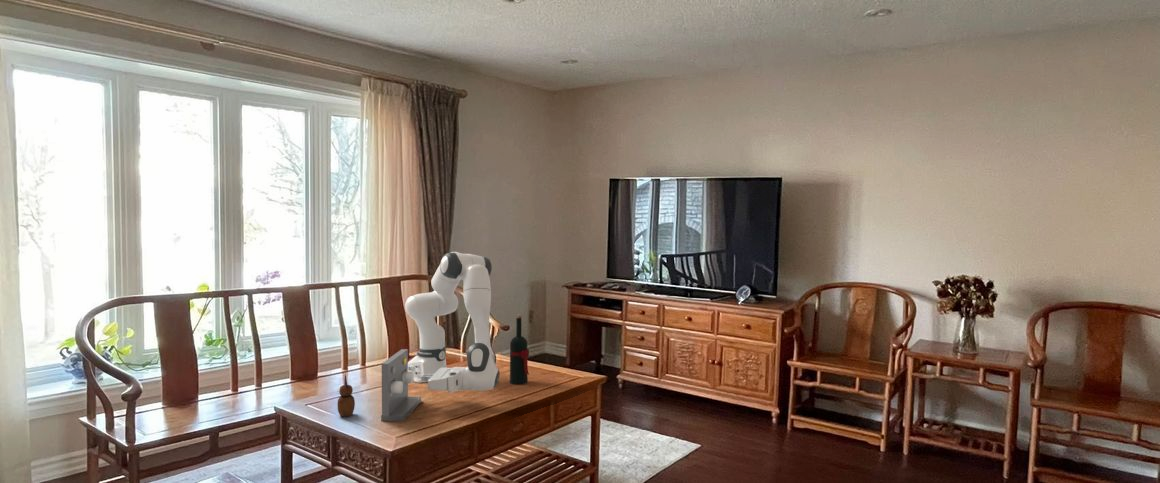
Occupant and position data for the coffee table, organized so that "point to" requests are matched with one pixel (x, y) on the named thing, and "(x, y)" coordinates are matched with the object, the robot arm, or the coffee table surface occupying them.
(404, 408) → the control panel
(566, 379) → the coffee table surface
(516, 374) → the wine bottle
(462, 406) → the coffee table surface
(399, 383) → the unlit button
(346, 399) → the wooden figurine
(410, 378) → the beige rounded lump
